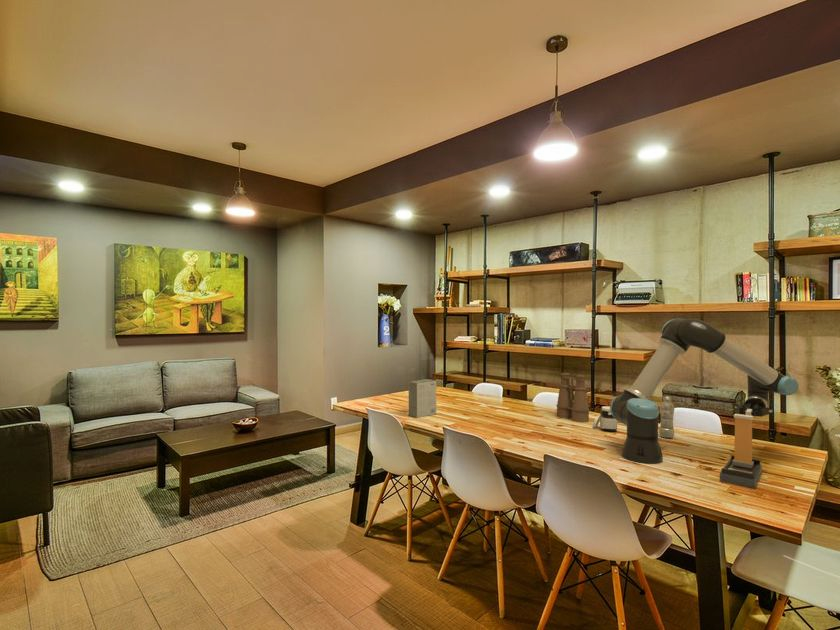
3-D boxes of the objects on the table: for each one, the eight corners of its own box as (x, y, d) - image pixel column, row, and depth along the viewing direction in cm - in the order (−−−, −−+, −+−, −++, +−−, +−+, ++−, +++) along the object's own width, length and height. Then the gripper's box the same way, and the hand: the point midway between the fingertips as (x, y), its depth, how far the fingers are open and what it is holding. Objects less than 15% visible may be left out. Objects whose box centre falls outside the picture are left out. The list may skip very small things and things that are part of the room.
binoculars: (552, 416, 266) (552, 373, 266) (564, 414, 271) (564, 372, 271) (581, 423, 248) (582, 377, 248) (593, 421, 253) (594, 376, 254)
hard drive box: (428, 412, 272) (428, 378, 272) (436, 414, 266) (437, 380, 266) (407, 415, 262) (408, 381, 262) (416, 418, 256) (416, 382, 256)
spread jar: (619, 433, 228) (619, 409, 228) (595, 431, 230) (595, 408, 230) (613, 427, 240) (613, 405, 240) (590, 426, 242) (590, 404, 242)
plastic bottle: (657, 437, 220) (657, 396, 220) (661, 435, 225) (662, 394, 225) (671, 440, 216) (672, 398, 216) (676, 437, 220) (676, 396, 220)
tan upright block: (752, 468, 165) (752, 417, 165) (732, 465, 169) (732, 415, 169) (753, 465, 169) (754, 415, 169) (734, 461, 173) (734, 413, 173)
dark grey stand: (754, 488, 155) (754, 475, 155) (719, 481, 161) (719, 468, 161) (761, 472, 171) (761, 460, 171) (729, 466, 178) (730, 454, 178)
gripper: (774, 417, 189) (769, 427, 171) (736, 412, 198) (727, 422, 180) (774, 399, 189) (769, 407, 171) (736, 395, 198) (727, 403, 180)
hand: (747, 415), depth 176 cm, fingers closed
